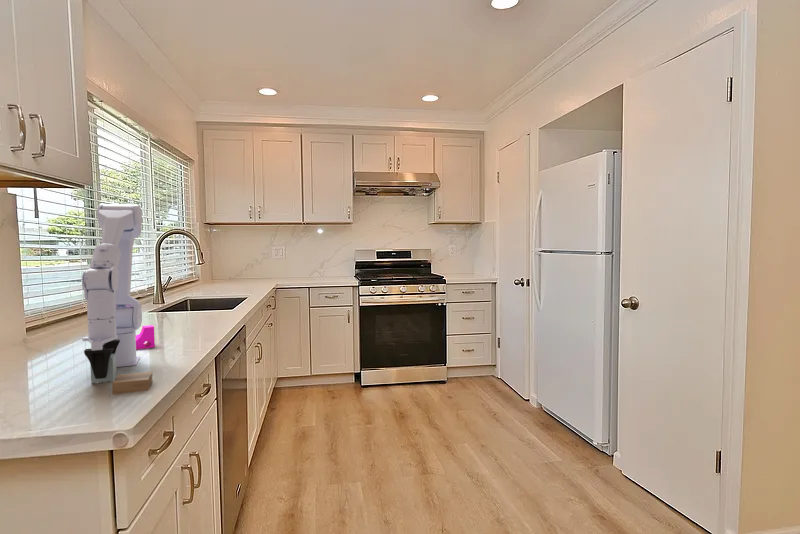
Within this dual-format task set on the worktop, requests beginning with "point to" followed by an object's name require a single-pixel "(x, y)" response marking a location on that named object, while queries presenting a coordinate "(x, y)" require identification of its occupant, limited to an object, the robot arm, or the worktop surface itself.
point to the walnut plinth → (132, 382)
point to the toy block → (145, 337)
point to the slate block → (110, 374)
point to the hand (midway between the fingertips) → (104, 374)
